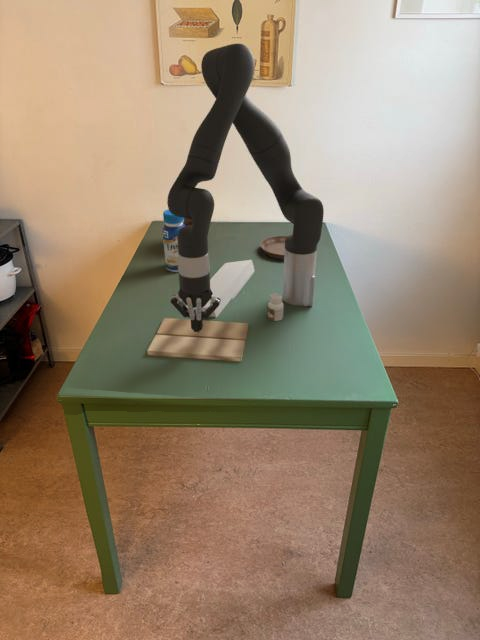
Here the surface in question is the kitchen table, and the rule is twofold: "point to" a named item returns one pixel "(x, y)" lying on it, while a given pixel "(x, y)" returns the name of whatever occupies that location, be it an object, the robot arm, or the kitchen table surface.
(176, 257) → the beverage bottle
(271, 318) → the pill bottle
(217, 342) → the oak plank
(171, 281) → the kitchen table surface
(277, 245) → the plant saucer
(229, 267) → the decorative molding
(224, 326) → the laid plank
